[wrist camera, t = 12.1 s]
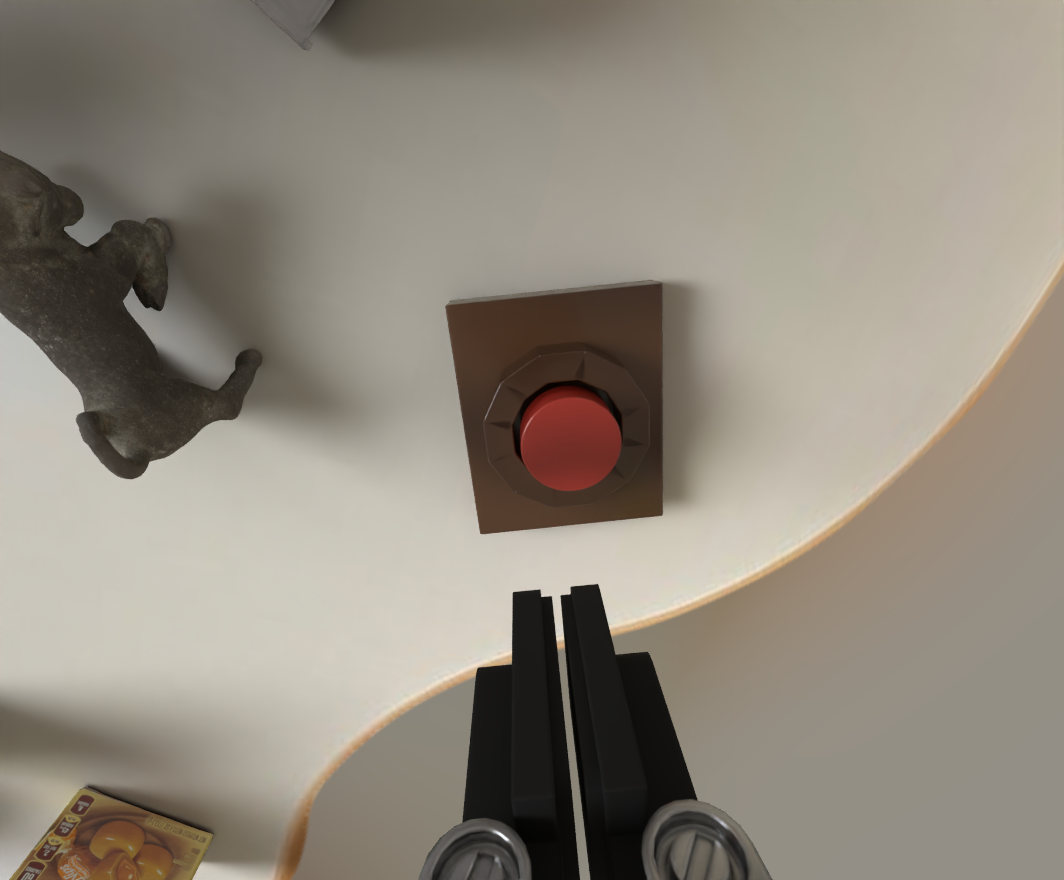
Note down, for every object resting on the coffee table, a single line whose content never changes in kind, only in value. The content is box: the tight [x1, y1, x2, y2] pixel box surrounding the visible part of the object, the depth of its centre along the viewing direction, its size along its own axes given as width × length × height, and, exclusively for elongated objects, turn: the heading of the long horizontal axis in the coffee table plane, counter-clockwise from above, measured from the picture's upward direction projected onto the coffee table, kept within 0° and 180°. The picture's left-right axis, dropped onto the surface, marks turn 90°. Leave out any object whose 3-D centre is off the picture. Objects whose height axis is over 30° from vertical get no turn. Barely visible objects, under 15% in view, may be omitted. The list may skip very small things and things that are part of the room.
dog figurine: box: [0, 151, 262, 479], centre depth 19 cm, size 12×6×7 cm, turn 21°
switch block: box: [446, 280, 663, 534], centre depth 23 cm, size 11×9×4 cm
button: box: [520, 386, 622, 491], centre depth 21 cm, size 4×4×2 cm
